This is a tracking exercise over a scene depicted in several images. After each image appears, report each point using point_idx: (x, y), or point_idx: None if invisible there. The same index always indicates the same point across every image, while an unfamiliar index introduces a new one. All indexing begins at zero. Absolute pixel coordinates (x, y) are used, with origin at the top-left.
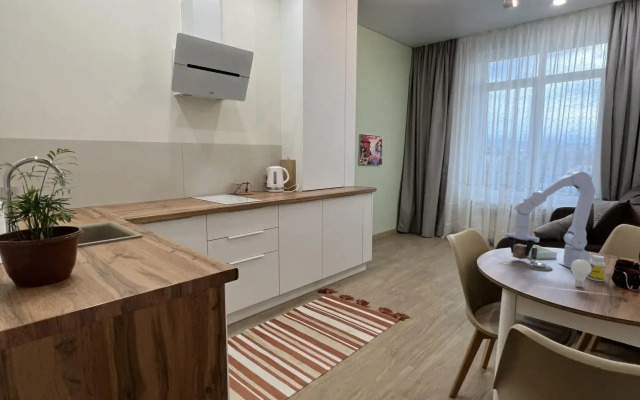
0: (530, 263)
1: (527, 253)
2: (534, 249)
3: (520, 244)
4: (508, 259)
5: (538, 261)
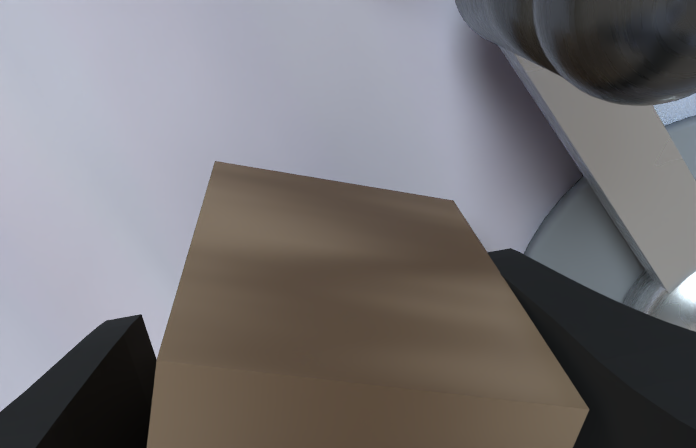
0: (536, 255)
1: None
2: (689, 95)
3: (242, 432)
4: (93, 280)
5: (693, 193)
